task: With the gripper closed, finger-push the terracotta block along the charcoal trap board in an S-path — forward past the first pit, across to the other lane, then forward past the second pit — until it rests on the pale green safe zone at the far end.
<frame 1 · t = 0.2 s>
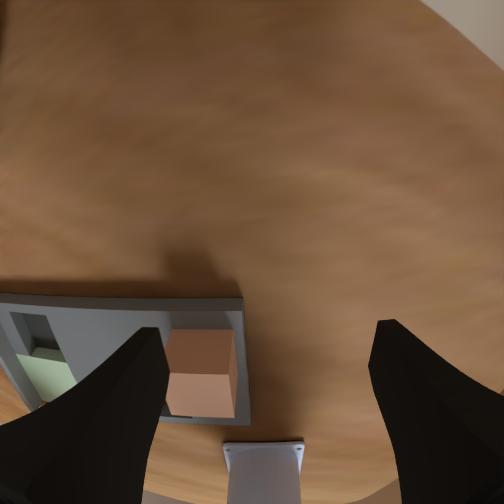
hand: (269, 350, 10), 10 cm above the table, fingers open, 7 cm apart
block: (205, 352, 21), point 1 cm above the table, touching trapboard
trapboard: (112, 359, 24), on the table
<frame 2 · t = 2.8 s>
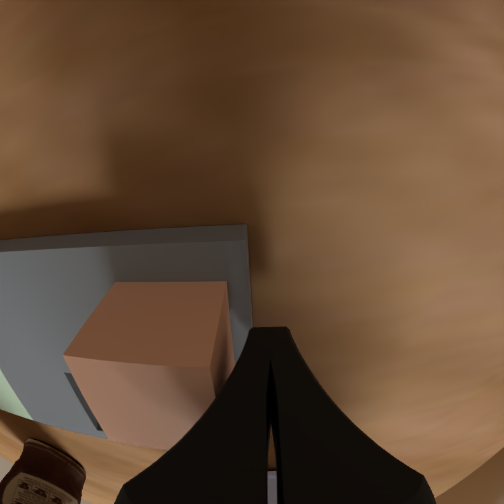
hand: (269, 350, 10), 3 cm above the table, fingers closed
coffee cup: (56, 456, 21), on the table
block: (177, 329, 11), point 2 cm above the table, touching gripper, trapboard
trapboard: (47, 344, 14), on the table
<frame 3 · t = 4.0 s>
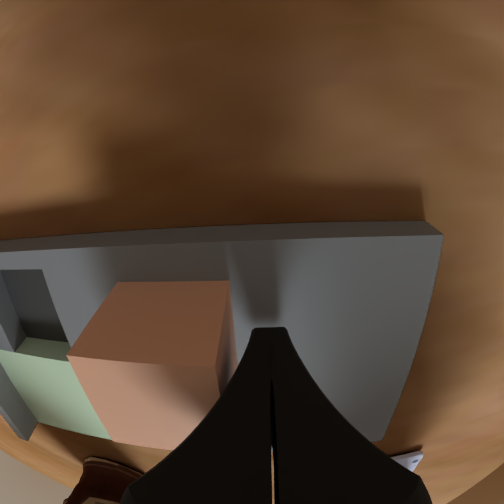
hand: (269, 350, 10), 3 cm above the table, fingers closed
coffee cup: (120, 472, 20), on the table
block: (179, 329, 12), point 2 cm above the table, touching gripper, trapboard
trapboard: (162, 354, 14), on the table
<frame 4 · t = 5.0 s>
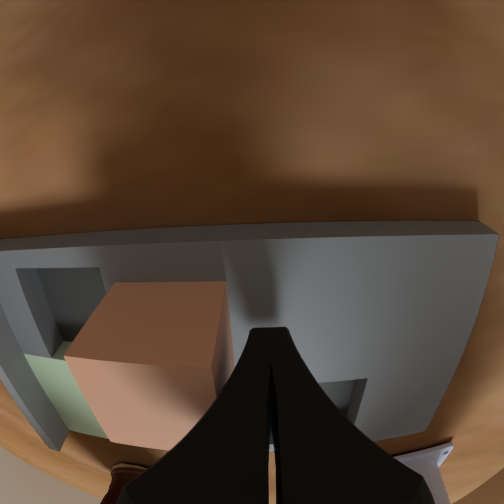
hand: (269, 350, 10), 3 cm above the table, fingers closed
coffee cup: (150, 477, 20), on the table
block: (177, 329, 11), point 1 cm above the table, touching gripper, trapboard
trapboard: (222, 355, 14), on the table
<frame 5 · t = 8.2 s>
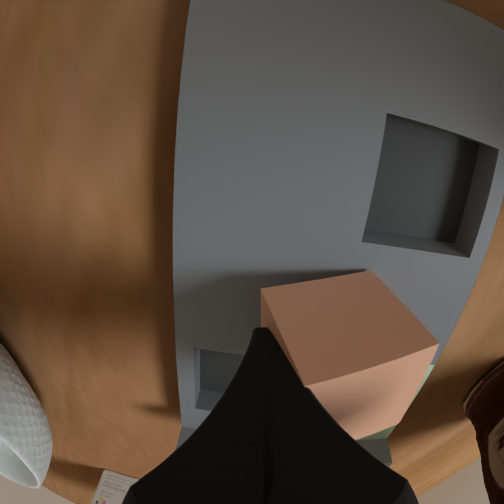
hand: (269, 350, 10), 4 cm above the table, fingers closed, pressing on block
ink cartridge box: (147, 485, 25), on the table
coffee cup: (498, 382, 16), on the table
block: (314, 325, 11), point 2 cm above the table, tilted 17°, touching gripper, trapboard
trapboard: (332, 266, 13), on the table
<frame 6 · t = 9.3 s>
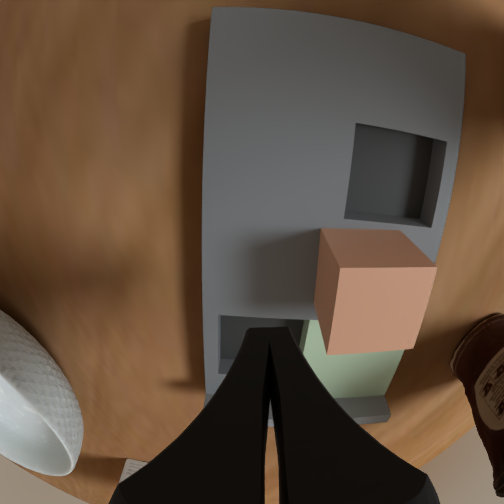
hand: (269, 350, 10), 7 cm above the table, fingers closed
ink cartridge box: (168, 472, 28), on the table
coffee cup: (480, 343, 20), on the table
cereal bowl: (20, 354, 22), on the table
block: (356, 267, 15), point 1 cm above the table, touching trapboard
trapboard: (323, 242, 17), on the table
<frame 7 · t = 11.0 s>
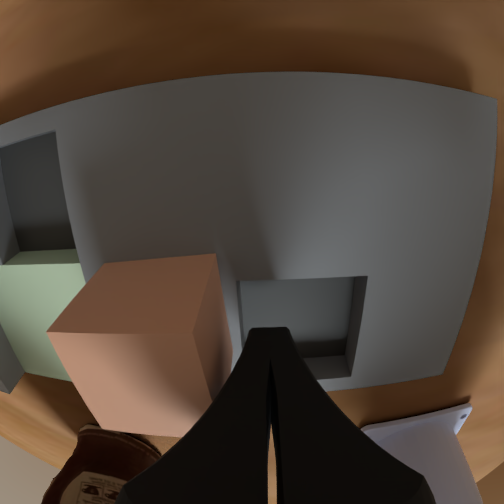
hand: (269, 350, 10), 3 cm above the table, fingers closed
coffee cup: (121, 446, 18), on the table
block: (169, 309, 11), point 2 cm above the table, touching gripper, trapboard
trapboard: (189, 252, 12), on the table
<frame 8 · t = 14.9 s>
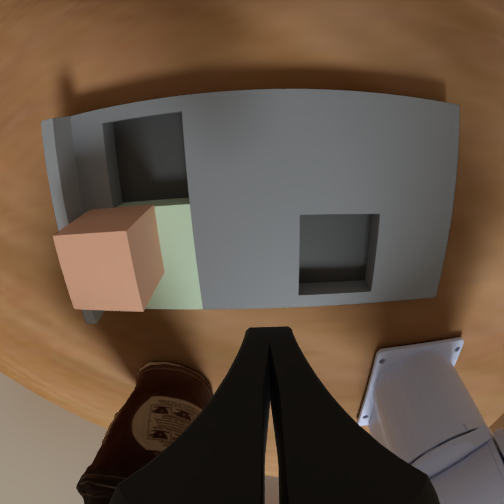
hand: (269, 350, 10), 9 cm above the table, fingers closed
coffee cup: (175, 384, 24), on the table
block: (126, 241, 17), point 1 cm above the table, touching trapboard
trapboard: (263, 200, 18), on the table
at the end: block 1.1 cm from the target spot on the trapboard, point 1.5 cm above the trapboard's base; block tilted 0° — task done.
